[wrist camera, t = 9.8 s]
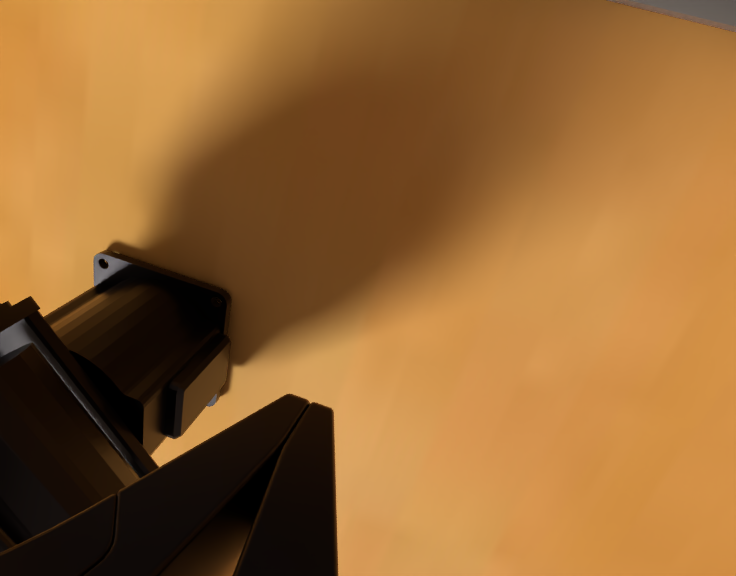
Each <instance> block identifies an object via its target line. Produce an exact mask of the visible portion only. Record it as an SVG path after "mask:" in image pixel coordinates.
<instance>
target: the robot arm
mask: <svg viewBox="0 0 736 576" xmlns="http://www.w3.org/2000/svg"><path fill="white" fill-rule="evenodd" d="M105 260H106V261H107V262H108V264H107V263H106V262H105ZM216 297H217V298H219V299H220V300H221V303H219V302H218V301H217V300H216ZM230 307H231V297H230V295H229V293H228V292H227V291H226V290H224V289H222V288H219V287H216V286H213V285H210V284H207V283H204V282H201V281H198V280H195V279H192V278H189V277H186V276H183V275H180V274H177V273H174V272H171V271H168V270H165V269H162V268H159V267H156V266H153V265H150V264H147V263H144V262H141V261H139V260H136V259H133V258H130V257H127V256H124V255H121V254H118V253H115V252H112V251H108V250H105V251H102V252H100V253H98V254H96V255H95V257H94V287H93V288H91V289H89V290H88V291H86V292H84V293H83V294H81V295H79V296H78V297H76V298H74V299H73V300H71V301H69V302H68V303H66V304H64V305H63V306H61V307H59V308H58V309H56V310H54V311H53V312H51V313H49V314H48V315H46V316H44V317H43V316H42V315H41V313H40V312H39V311H38V310H39V309H40V307H39V306H38V305H37V304H36V302H35V301H34V300H33V298H32V297H31V296H30V297H28V298H26V299H24V300H22V301H20V302H19V303H17V304H15V305H13V306H12V305H11V304H10V303H9V302H8V301H7V302H5V303H3V304H1V303H0V576H338V551H337V515H336V480H335V444H334V412H333V410H332V409H331V408H329V407H327V406H324V405H321V404H318V403H315V402H313V403H311V404H310V402H309V401H308V400H307V399H304V398H301V397H298V396H296V395H293V394H286V395H284V396H283V397H281V398H279V399H277V400H276V401H274V402H272V403H270V404H269V405H267V406H265V407H263V408H262V409H260V410H258V411H256V412H255V413H253V414H251V415H250V416H248V417H246V418H244V419H243V420H241V421H239V422H237V423H236V424H234V425H232V426H230V427H229V428H227V429H225V430H223V431H222V432H220V433H218V434H217V435H215V436H213V437H211V438H210V439H208V440H206V441H204V442H203V443H201V444H199V445H197V446H196V447H194V448H192V449H190V450H189V451H187V452H185V453H184V454H182V455H180V456H178V457H177V458H175V459H173V460H171V461H170V462H168V463H166V464H164V465H163V466H161V467H159V466H158V465H157V464H156V462H155V461H154V460H153V459H152V457H151V455H152V454H153V452H154V451H155V450H156V449H157V448H158V447H159V445H160V444H161V443H162V442H163V441H164V440H165V438H166V437H170V438H173V439H176V438H178V437H180V436H182V435H183V434H184V432H185V431H186V430H187V429H188V428H189V426H190V425H191V424H192V423H193V421H194V420H195V419H196V418H197V417H198V415H199V414H200V413H201V412H202V411H203V409H204V408H205V407H206V406H213V405H214V404H215V403H216V402H217V401H218V399H219V397H220V391H221V387H222V386H223V385H224V384H225V382H226V377H227V369H228V361H229V353H230V345H231V341H230V338H229V336H228V335H227V332H228V323H229V315H230Z"/></svg>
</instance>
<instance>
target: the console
mask: <svg viewBox="0 0 736 576" xmlns="http://www.w3.org/2000/svg"><path fill="white" fill-rule="evenodd" d="M608 1H612V2H616V3H620V4H624V5H628V6H632V7H636V8H640V9H644V10H648V11H652V12H656V13H660V14H664V15H668V16H672V17H677V18H681V19H685V20H689V21H693V22H697V23H701V24H705V25H709V26H713V27H717V28H721V29H725V30H729V31H733V32H736V0H608Z"/></svg>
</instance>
